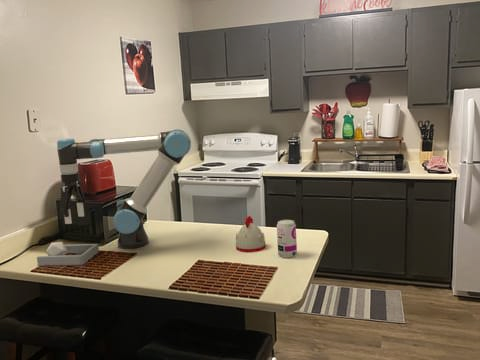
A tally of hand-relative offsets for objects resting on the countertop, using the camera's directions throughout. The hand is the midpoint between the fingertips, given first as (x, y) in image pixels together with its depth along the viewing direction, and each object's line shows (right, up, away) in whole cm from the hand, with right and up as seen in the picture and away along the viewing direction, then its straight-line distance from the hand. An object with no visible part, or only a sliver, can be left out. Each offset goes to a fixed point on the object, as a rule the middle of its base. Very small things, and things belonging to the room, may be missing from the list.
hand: (75, 219), depth 205 cm
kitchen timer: (+81, -13, +3) cm, 82 cm away
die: (-10, -19, +4) cm, 22 cm away
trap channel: (-5, -18, +4) cm, 19 cm away
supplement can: (+96, -15, -11) cm, 98 cm away
